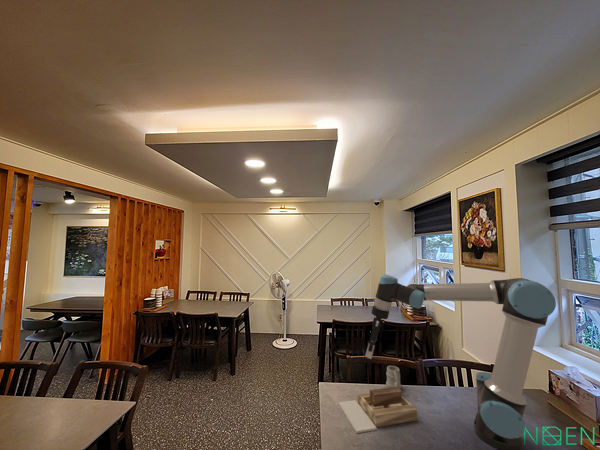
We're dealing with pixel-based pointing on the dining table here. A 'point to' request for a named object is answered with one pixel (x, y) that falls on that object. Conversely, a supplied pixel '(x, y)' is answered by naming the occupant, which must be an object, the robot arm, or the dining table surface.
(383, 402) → the walnut bar
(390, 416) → the pocket board
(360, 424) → the felt mat
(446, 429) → the dining table surface
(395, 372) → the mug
